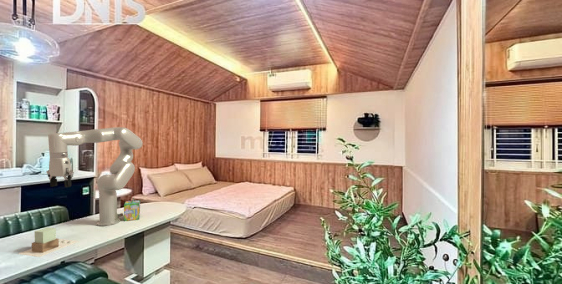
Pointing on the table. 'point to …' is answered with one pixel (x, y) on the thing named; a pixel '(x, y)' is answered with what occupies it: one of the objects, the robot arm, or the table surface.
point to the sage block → (45, 235)
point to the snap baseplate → (62, 244)
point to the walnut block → (45, 246)
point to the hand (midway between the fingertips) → (60, 186)
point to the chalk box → (132, 210)
